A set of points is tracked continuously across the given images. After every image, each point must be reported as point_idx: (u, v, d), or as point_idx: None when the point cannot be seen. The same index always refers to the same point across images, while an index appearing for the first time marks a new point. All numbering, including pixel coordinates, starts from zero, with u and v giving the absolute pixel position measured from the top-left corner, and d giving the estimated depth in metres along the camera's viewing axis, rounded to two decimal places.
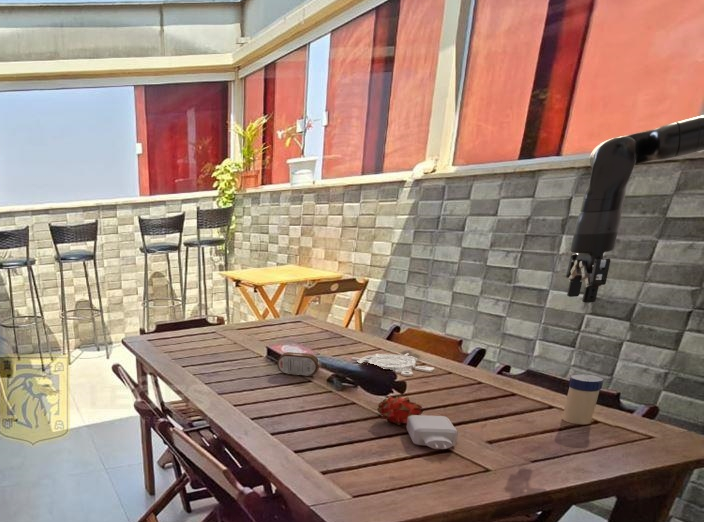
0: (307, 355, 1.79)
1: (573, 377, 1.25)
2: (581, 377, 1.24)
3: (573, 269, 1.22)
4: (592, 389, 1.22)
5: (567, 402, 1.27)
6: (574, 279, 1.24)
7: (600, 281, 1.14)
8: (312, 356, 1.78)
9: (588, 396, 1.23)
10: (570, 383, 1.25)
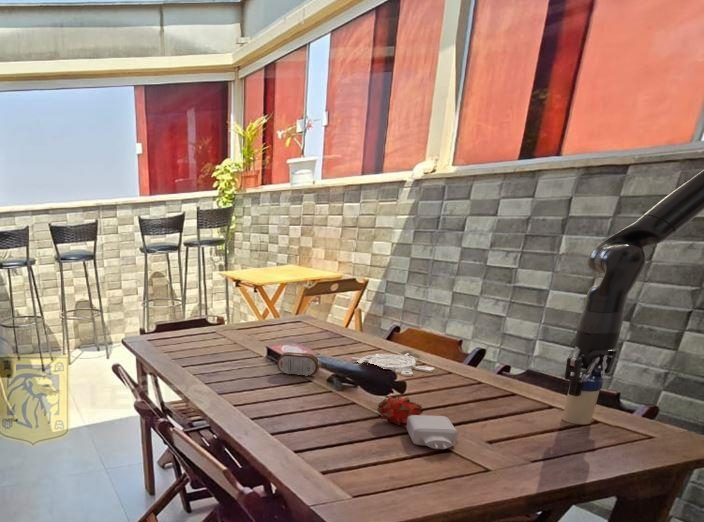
0: (307, 355, 1.79)
1: None
2: None
3: (592, 368, 1.20)
4: (592, 389, 1.22)
5: (567, 402, 1.27)
6: None
7: None
8: (312, 356, 1.78)
9: (588, 396, 1.23)
10: (570, 383, 1.25)
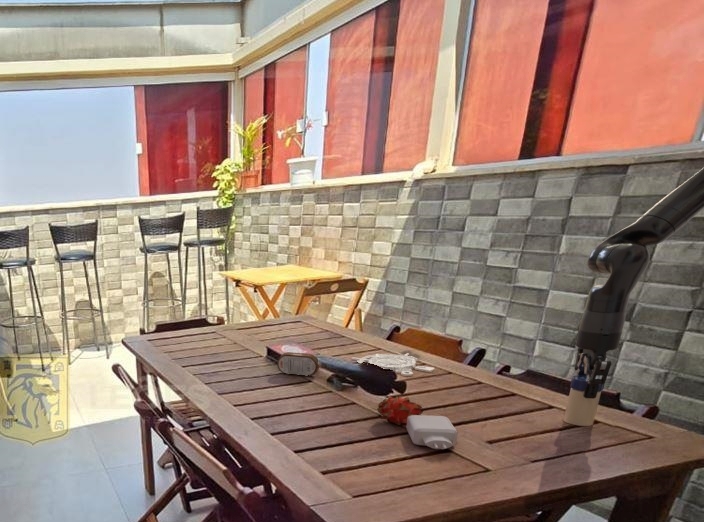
0: (307, 355, 1.79)
1: (581, 380, 1.22)
2: (584, 379, 1.23)
3: None
4: (602, 388, 1.21)
5: (569, 404, 1.26)
6: None
7: None
8: (312, 356, 1.78)
9: None
10: (580, 386, 1.22)
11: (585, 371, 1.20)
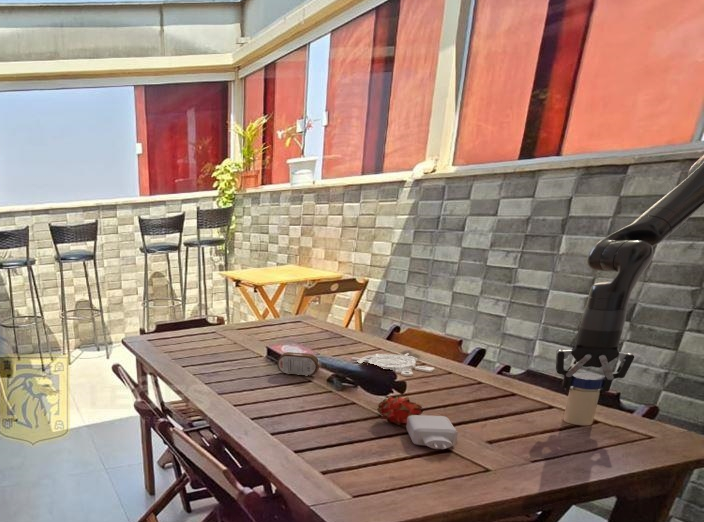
0: (307, 355, 1.79)
1: (599, 379, 1.20)
2: (591, 377, 1.22)
3: None
4: None
5: (569, 404, 1.26)
6: (605, 375, 1.21)
7: None
8: (312, 356, 1.78)
9: (591, 397, 1.22)
10: (600, 385, 1.21)
11: (607, 369, 1.19)
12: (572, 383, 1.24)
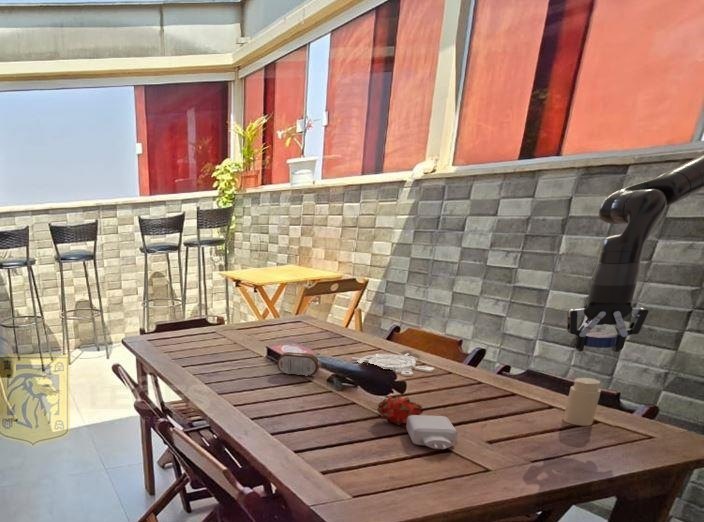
0: (307, 355, 1.79)
1: (613, 336, 1.17)
2: (605, 335, 1.18)
3: None
4: None
5: (569, 404, 1.26)
6: (617, 332, 1.18)
7: (570, 329, 1.21)
8: (312, 356, 1.78)
9: (592, 397, 1.22)
10: (615, 343, 1.17)
11: (621, 325, 1.16)
12: (586, 343, 1.20)
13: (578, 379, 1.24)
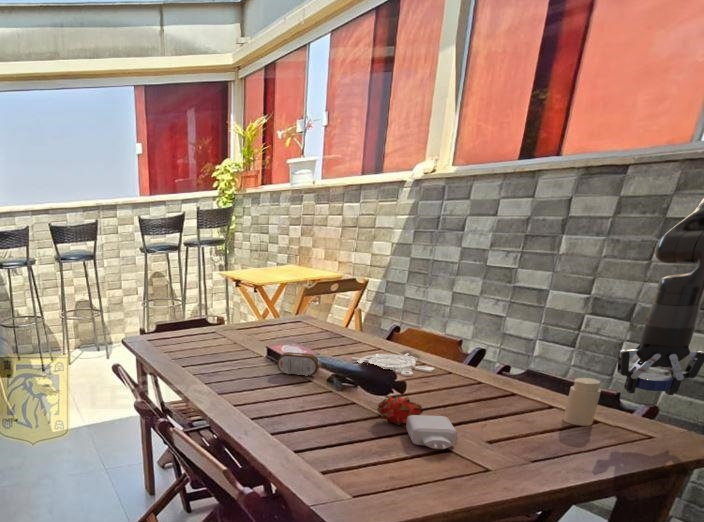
0: (307, 355, 1.79)
1: (668, 379, 1.11)
2: (658, 378, 1.13)
3: None
4: None
5: (569, 404, 1.26)
6: (672, 375, 1.12)
7: (620, 370, 1.16)
8: (312, 356, 1.78)
9: (592, 397, 1.22)
10: (669, 386, 1.12)
11: (677, 369, 1.10)
12: (637, 385, 1.15)
13: (578, 379, 1.24)
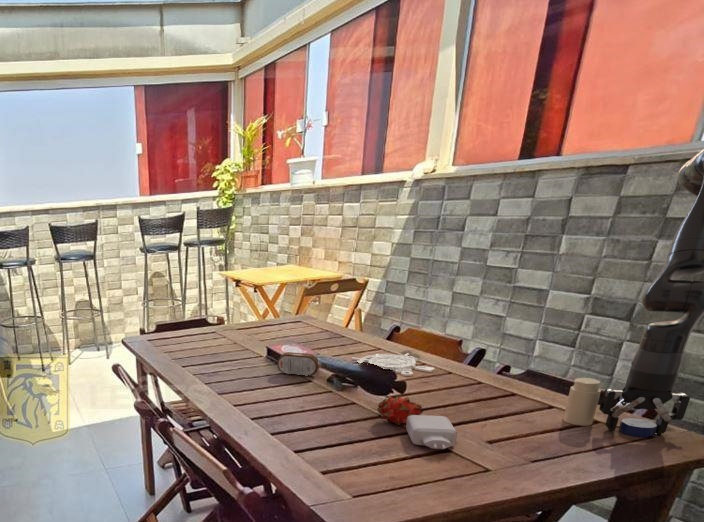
0: (307, 355, 1.79)
1: (653, 426, 1.15)
2: (643, 424, 1.17)
3: None
4: None
5: (569, 404, 1.26)
6: (660, 416, 1.16)
7: (602, 409, 1.20)
8: (312, 356, 1.78)
9: (592, 397, 1.22)
10: (654, 432, 1.16)
11: (663, 411, 1.14)
12: (623, 430, 1.19)
13: (578, 379, 1.24)
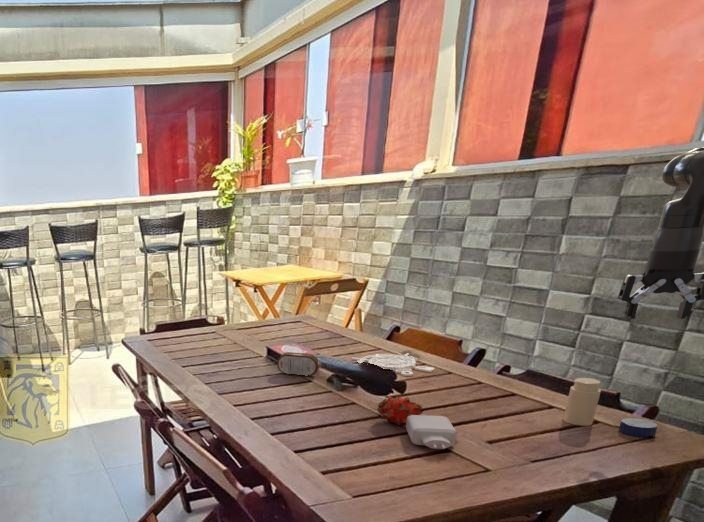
0: (307, 355, 1.79)
1: (653, 426, 1.15)
2: (643, 424, 1.17)
3: None
4: None
5: (569, 404, 1.26)
6: (684, 299, 1.14)
7: (621, 296, 1.18)
8: (312, 356, 1.78)
9: (592, 397, 1.22)
10: (654, 432, 1.16)
11: (686, 291, 1.11)
12: (623, 430, 1.19)
13: (578, 379, 1.24)
